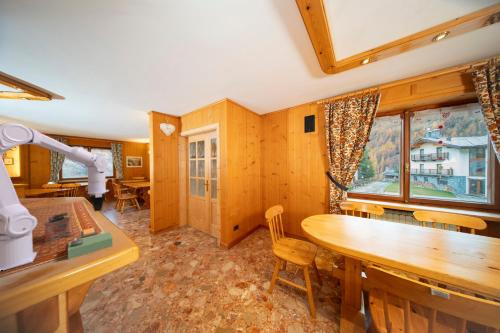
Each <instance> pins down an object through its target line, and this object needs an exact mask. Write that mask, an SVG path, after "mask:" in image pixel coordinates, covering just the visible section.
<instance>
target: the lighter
mask: <svg viewBox="0 0 500 333" xmlns="http://www.w3.org/2000/svg"><path fill="white" fill-rule="evenodd" d="M68 215H69V213H68V212H63V213H59V214H53V215H51V216H49V217H48V221H47V222H44V224H43V226H44V228H45V229H44V234H45V235H44V236H45V239H44V242H45V243H49V242H53V241H56V240H59V239H62V238H64V237H67V236H69V235H71V234H72V231H71V216H68ZM66 216H67V217H66Z"/></svg>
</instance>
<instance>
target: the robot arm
mask: <svg viewBox="0 0 500 333" xmlns="http://www.w3.org/2000/svg"><path fill="white" fill-rule="evenodd" d="M21 145H36V146H39V147H42V148H46V149H48V150H50V151H54V152H57V153H60V154H62V155H63V154H64V157H65V158H66V159H68V160H70V161H73V162H76V163H78V164H81V165H83V166H84V167H86V168H87V188H88V189H87V190H88V191H87V194H88V195H90V196H88V199H89V200H90V201H91V203H92V207H93V210H94V212H100V211H102V208H103V205H104V200H105V199H106V197H107V195H106V193H108V192H109V191H110V189H107V188H106V171H107V167H108V165H109V161H108V160H107V159H106V157H105V156H102V155H97V154H96V153H95V152H90V151H88V150H85V149H84V147H83V146H69V145H68V144H65V143H62V142H60V141H58V140H56V139H54V138H52V137H50V136H47V135H46V134H43V133H41V132H40V131H38V130H36V129H34V128H30V127H28V126H26V125H23V124H20V123H18V122H17V123H16V122H7V123H2V124H0V272H2V271H1V270H3V271H5V270H9V269H13V268H17V267H20V266H23V265H27V264H31V263H33V262H34V261H35V258H36V256H37V254H38V252H37V251H34V248H33V247H34V246H33V245H34V243H33V231H34V229H35V228H36V227H37V225H38V220H37V218H36V216H34V215H32V214H31V213H30V211H29V210H28V209H27V208H26V206H24V205H23V204H21V202H20V200H19V197H18V195H17V191H16V190H15V187H14V184H13V182H12V180H11V177H10V174H9V172H8V170H7V167H6V165H5V162H4V160H3V155H4V154H6V153H7V152H9V151H10V150H11V149H13V148H15V147H18V146H21Z"/></svg>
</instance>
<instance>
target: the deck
mask: <svg viewBox="0 0 500 333" xmlns="http://www.w3.org/2000/svg"><path fill="white" fill-rule="evenodd" d="M109 246H110V247H113V237H112V235H111V231H109V232H108V231H107V232H105V231H104V230H101V231H100V232H99V233H98V235H94V236H90V237H86V238H82V239H81V238H80V236H78V237H74V240H72V241H69V242H68V246H67V259H68V260H70V259H74V258H76V257H79V256H83V255H86V254H87V255H88V254H90V253H93V252H96V251H100V250H103V249H106V248H110V247H109Z"/></svg>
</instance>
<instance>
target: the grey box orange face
mask: <svg viewBox="0 0 500 333" xmlns="http://www.w3.org/2000/svg"><path fill="white" fill-rule="evenodd" d="M98 234H99V233H98V230H97V228H94V227H90V228H86V229H83V230H82V231H80V239H82V238H86V237H90V236H94V235H98Z"/></svg>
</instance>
